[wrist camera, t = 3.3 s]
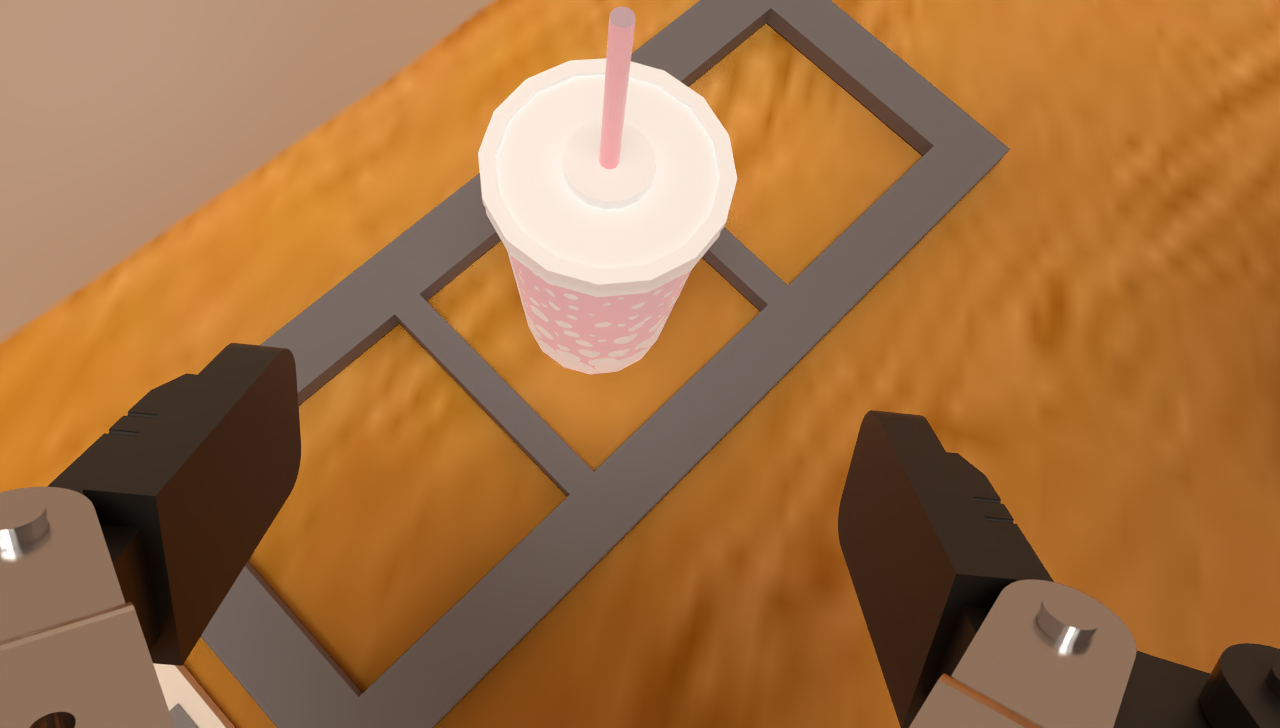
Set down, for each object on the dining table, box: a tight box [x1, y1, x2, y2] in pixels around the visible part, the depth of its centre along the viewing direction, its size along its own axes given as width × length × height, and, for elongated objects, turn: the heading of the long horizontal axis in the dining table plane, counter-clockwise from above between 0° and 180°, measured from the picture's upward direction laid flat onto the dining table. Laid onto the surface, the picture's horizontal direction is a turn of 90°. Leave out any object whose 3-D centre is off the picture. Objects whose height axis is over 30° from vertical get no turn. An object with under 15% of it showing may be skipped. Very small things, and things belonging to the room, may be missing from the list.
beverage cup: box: [478, 7, 737, 374], centre depth 22 cm, size 6×6×14 cm
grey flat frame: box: [201, 0, 1010, 728], centre depth 28 cm, size 30×12×1 cm, turn 135°
